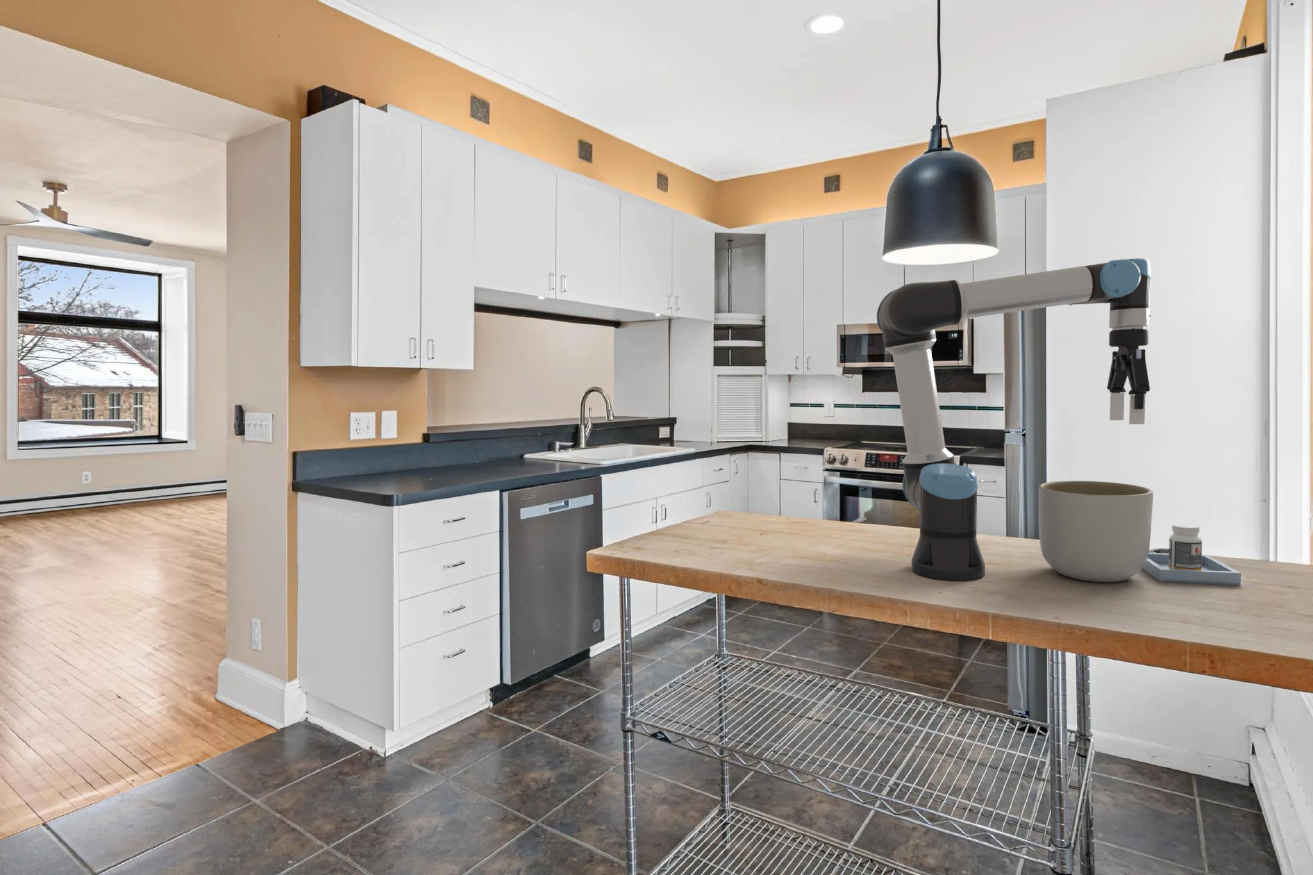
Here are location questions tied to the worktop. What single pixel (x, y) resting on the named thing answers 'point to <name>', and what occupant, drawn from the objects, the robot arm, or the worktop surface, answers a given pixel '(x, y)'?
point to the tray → (1191, 571)
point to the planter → (1095, 528)
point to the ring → (1159, 550)
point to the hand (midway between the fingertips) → (1126, 422)
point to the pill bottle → (1185, 547)
